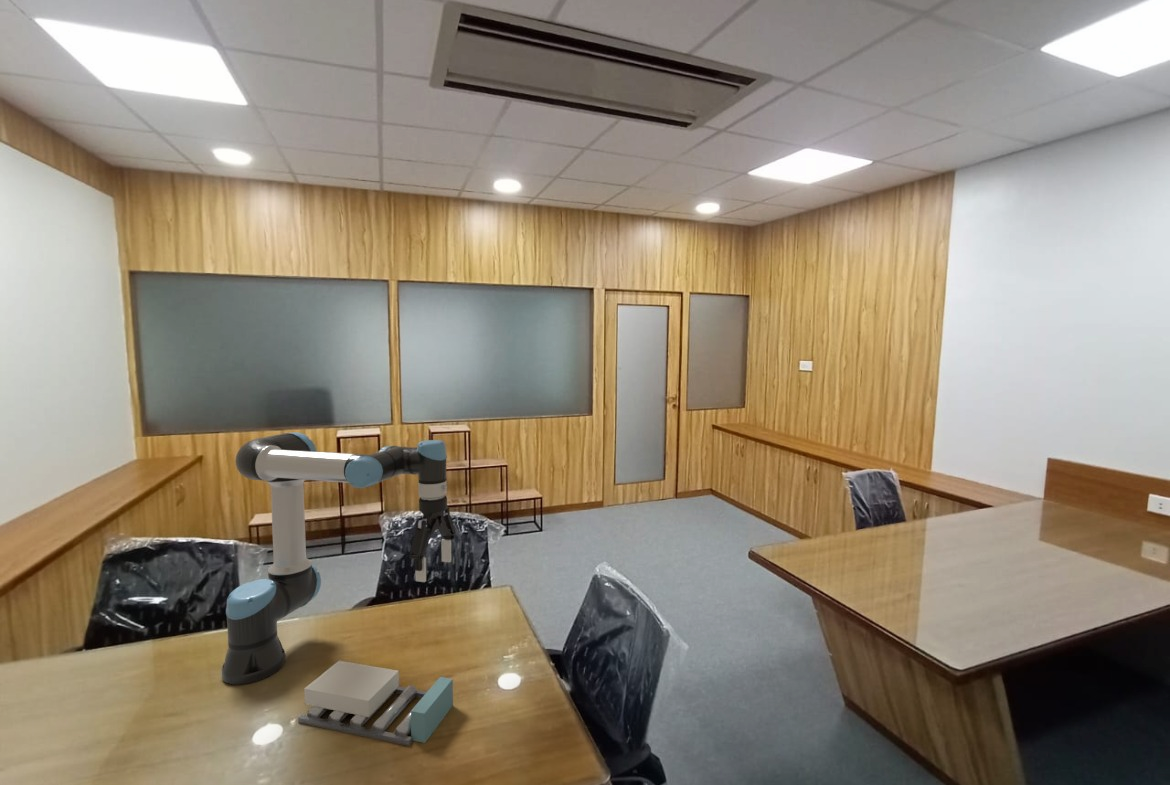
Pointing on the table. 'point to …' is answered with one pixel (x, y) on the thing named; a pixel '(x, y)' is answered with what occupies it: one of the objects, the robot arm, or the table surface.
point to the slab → (352, 688)
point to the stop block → (431, 709)
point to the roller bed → (359, 720)
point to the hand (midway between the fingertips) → (434, 571)
